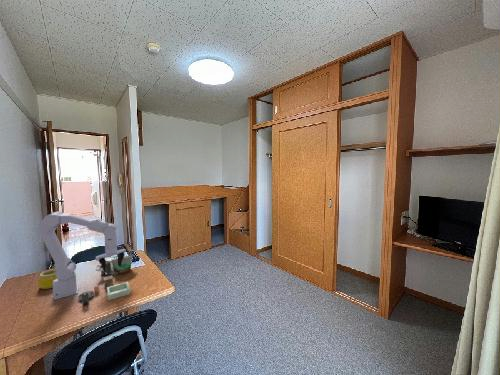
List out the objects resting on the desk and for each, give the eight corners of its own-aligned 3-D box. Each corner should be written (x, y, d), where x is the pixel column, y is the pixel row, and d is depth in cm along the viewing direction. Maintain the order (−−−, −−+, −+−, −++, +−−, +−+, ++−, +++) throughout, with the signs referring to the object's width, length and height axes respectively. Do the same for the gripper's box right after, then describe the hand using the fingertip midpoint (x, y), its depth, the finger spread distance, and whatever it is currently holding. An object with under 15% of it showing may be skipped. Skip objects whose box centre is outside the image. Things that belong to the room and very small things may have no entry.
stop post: (94, 294, 115) (93, 287, 114) (94, 292, 116) (94, 286, 116) (99, 292, 116) (98, 286, 115) (99, 291, 117) (98, 284, 117)
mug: (35, 287, 121) (33, 267, 120) (59, 278, 131) (57, 259, 130) (45, 293, 115) (43, 272, 114) (70, 283, 125) (68, 263, 124)
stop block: (104, 289, 119) (104, 280, 119) (104, 285, 123) (103, 277, 122) (113, 286, 122) (112, 278, 121) (112, 283, 125) (112, 275, 124)
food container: (116, 278, 131) (114, 262, 130) (111, 275, 135) (110, 259, 134) (136, 270, 141) (135, 255, 140) (132, 267, 145) (131, 253, 144)
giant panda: (111, 268, 143) (110, 255, 142) (119, 269, 143) (118, 255, 142) (93, 280, 129) (91, 264, 128) (101, 280, 128) (100, 265, 127)
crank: (78, 296, 112) (78, 287, 112) (93, 292, 116) (93, 283, 115) (77, 307, 103) (76, 297, 102) (93, 302, 107) (93, 293, 106)
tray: (108, 300, 109) (107, 296, 108) (107, 291, 117) (106, 287, 116) (130, 293, 114) (130, 289, 114) (128, 285, 122) (127, 281, 122)
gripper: (98, 250, 114) (100, 275, 115) (127, 243, 126) (128, 265, 127) (94, 247, 119) (95, 271, 120) (122, 240, 130) (123, 262, 131)
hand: (112, 268), depth 124 cm, fingers open, 7 cm apart
